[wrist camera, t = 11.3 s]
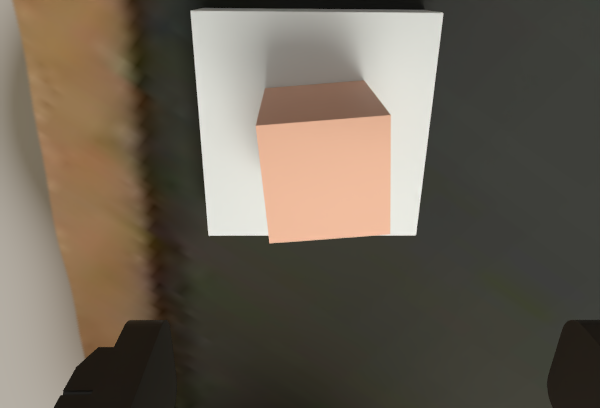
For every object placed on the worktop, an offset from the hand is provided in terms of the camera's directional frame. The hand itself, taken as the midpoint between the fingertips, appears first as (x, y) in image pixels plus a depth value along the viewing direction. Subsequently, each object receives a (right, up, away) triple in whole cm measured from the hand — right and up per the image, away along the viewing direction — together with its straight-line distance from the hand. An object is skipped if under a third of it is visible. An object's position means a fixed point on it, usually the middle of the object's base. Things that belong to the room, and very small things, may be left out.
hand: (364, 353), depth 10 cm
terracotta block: (0, +7, +15) cm, 17 cm away
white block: (-1, +8, +19) cm, 21 cm away
